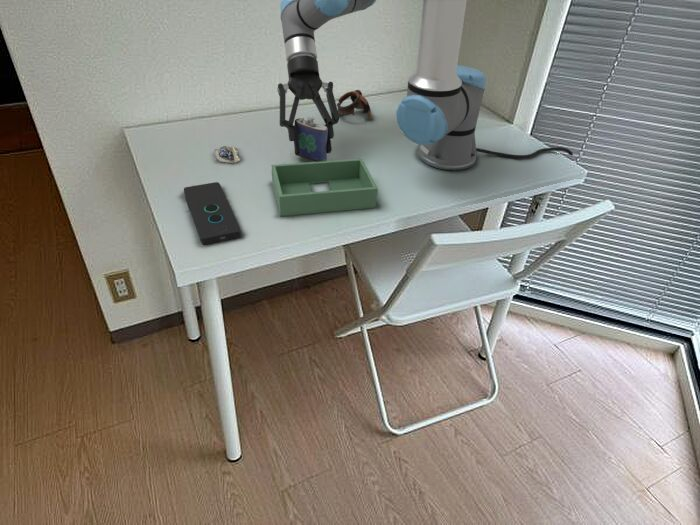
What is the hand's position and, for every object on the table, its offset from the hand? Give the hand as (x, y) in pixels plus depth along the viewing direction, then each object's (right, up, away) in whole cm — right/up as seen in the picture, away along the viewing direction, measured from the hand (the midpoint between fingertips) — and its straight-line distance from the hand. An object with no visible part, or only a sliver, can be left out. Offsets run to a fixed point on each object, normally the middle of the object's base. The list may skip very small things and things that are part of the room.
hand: (313, 152), depth 124 cm
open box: (+3, -11, -6) cm, 13 cm away
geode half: (-22, 0, +6) cm, 23 cm away
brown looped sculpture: (+10, +17, +29) cm, 35 cm away
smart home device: (-21, -16, -14) cm, 30 cm away
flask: (-1, 0, +5) cm, 5 cm away
